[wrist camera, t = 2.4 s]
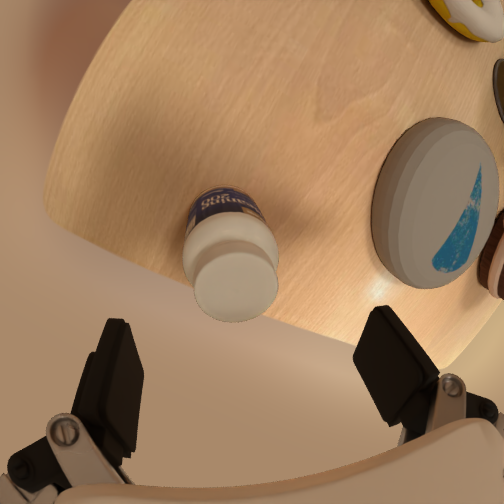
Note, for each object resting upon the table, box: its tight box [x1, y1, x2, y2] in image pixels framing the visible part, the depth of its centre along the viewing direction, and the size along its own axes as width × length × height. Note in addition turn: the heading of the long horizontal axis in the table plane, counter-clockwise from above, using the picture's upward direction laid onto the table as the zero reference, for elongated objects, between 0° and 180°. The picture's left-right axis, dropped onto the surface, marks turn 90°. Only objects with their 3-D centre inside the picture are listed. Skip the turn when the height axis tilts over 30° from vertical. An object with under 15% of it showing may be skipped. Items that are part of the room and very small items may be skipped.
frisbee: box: [372, 117, 499, 289], centre depth 22 cm, size 18×18×5 cm
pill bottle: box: [182, 185, 279, 322], centre depth 17 cm, size 5×5×10 cm
